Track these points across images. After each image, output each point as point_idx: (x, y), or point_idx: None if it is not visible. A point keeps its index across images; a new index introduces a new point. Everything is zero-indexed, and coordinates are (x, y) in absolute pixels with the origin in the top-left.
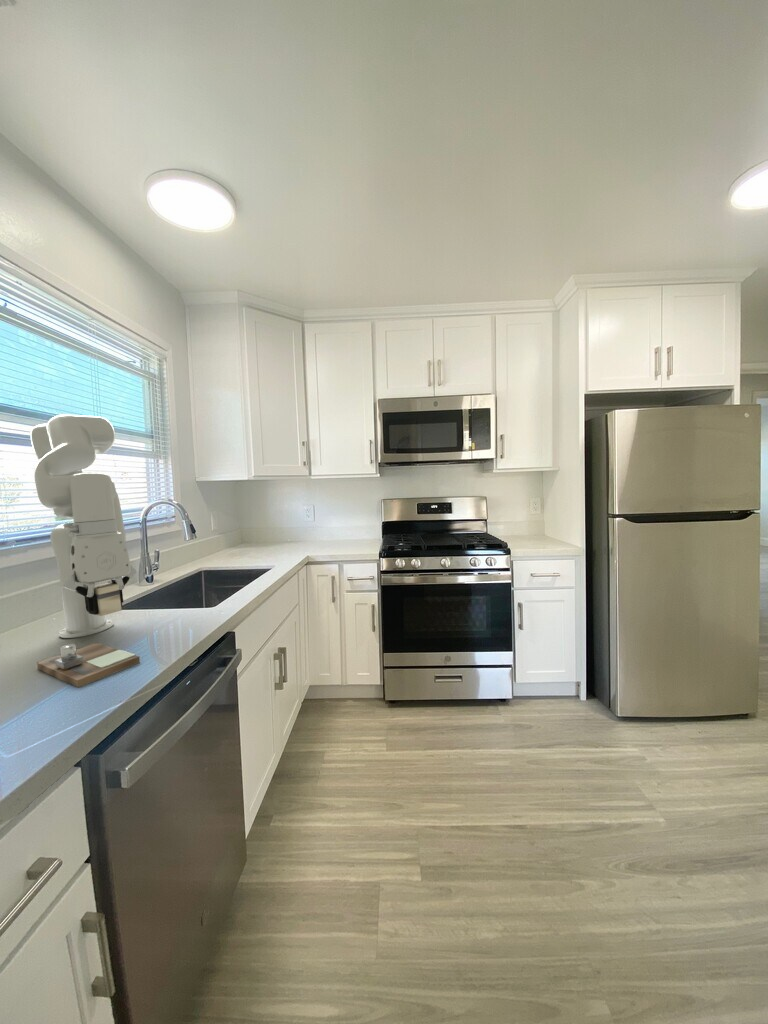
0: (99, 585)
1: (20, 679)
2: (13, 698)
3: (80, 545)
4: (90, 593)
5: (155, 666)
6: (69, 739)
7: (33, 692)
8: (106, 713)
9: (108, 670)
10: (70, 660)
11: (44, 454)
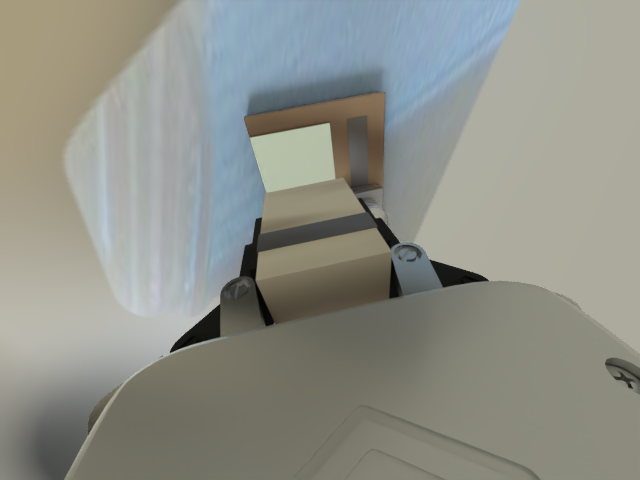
0: None
1: (402, 239)
2: (442, 164)
3: None
4: (408, 258)
5: (214, 42)
6: None
7: (419, 161)
8: None
9: (319, 103)
10: (369, 192)
11: None
